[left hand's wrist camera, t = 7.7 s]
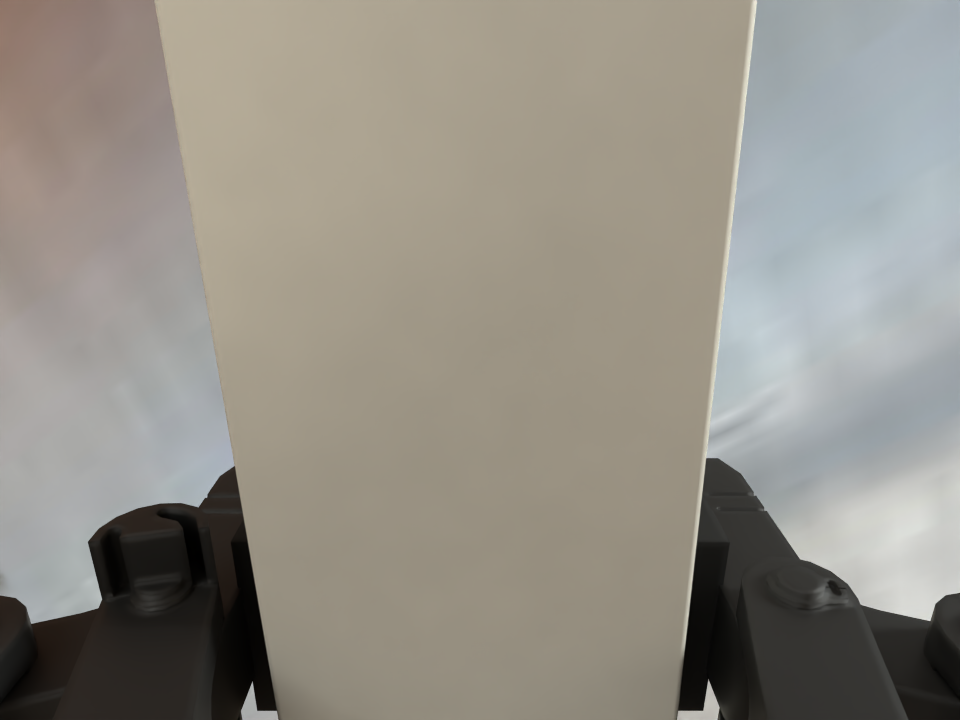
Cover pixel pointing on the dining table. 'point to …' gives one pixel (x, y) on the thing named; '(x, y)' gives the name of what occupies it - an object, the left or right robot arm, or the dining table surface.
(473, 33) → the bar
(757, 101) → the dining table surface
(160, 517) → the left robot arm
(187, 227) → the dining table surface
